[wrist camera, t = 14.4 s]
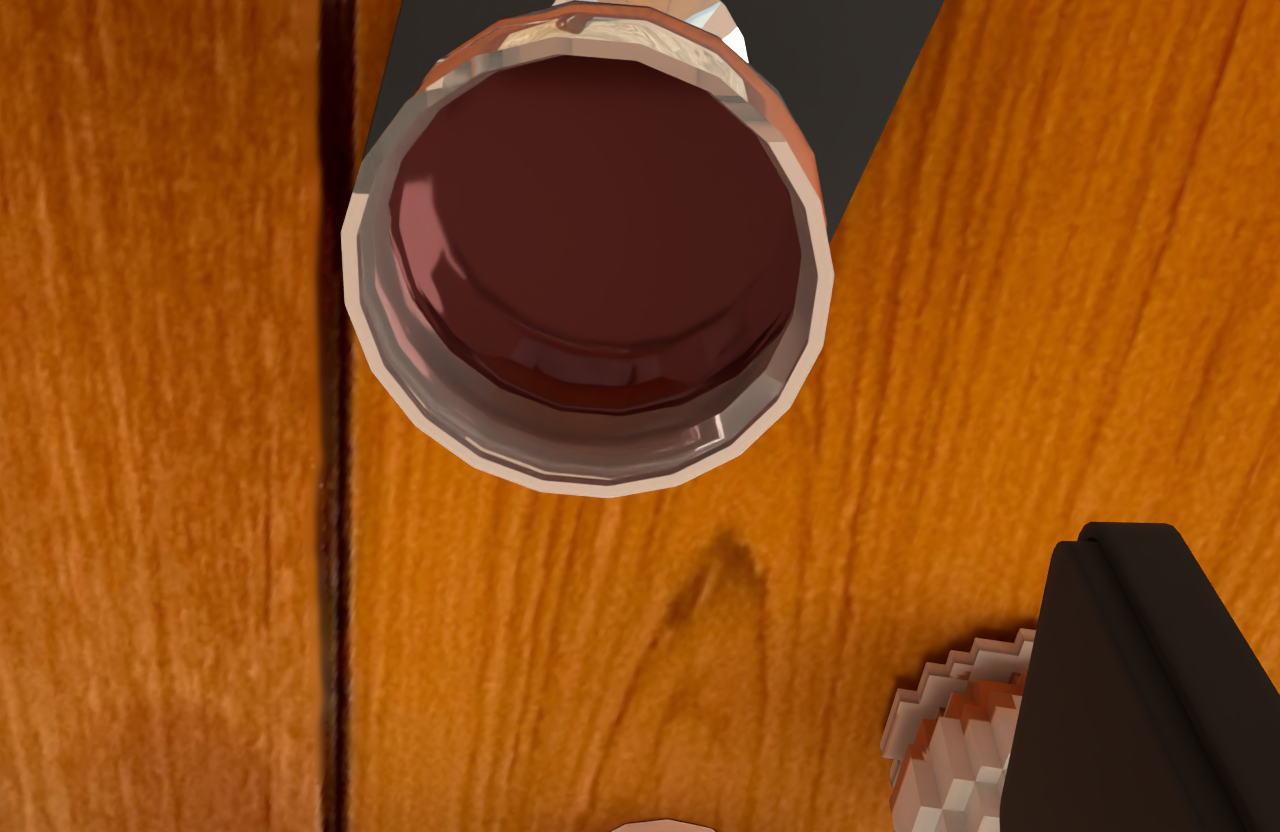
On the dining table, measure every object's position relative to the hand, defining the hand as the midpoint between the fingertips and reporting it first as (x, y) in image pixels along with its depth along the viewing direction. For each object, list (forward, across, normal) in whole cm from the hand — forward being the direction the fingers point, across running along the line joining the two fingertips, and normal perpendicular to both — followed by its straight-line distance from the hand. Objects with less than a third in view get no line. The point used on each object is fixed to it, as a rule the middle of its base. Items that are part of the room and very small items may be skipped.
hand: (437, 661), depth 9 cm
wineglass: (+20, -1, 0) cm, 20 cm away
